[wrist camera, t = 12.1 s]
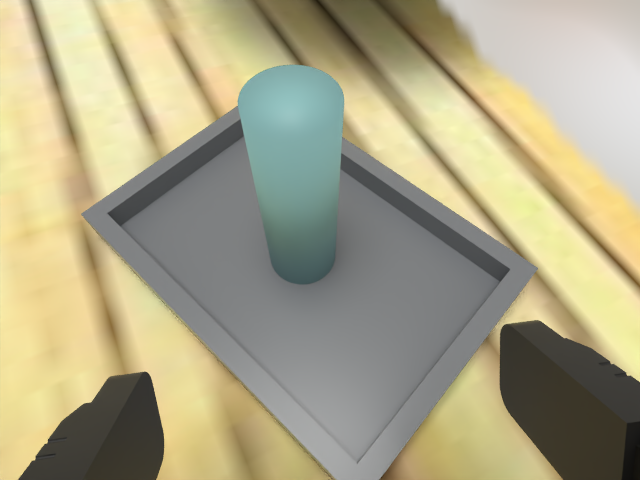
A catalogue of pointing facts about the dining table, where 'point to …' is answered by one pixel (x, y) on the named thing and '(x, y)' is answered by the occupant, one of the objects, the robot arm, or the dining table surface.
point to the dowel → (295, 165)
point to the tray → (317, 293)
